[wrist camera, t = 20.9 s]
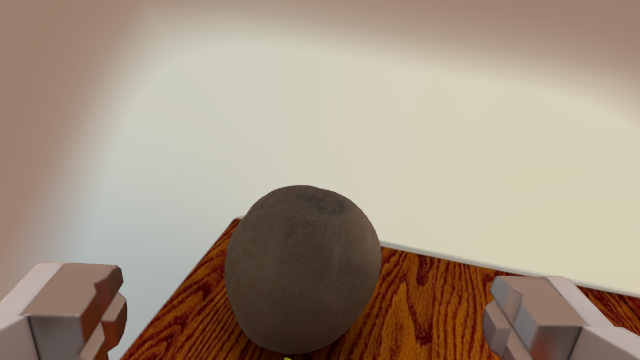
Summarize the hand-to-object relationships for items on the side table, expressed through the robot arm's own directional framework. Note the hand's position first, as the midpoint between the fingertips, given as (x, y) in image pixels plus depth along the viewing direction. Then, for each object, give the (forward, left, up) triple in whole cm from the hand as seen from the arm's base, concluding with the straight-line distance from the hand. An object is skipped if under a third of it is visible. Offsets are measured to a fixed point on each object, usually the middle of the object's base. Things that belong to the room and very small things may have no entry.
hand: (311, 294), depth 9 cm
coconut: (+1, +25, -25) cm, 36 cm away
